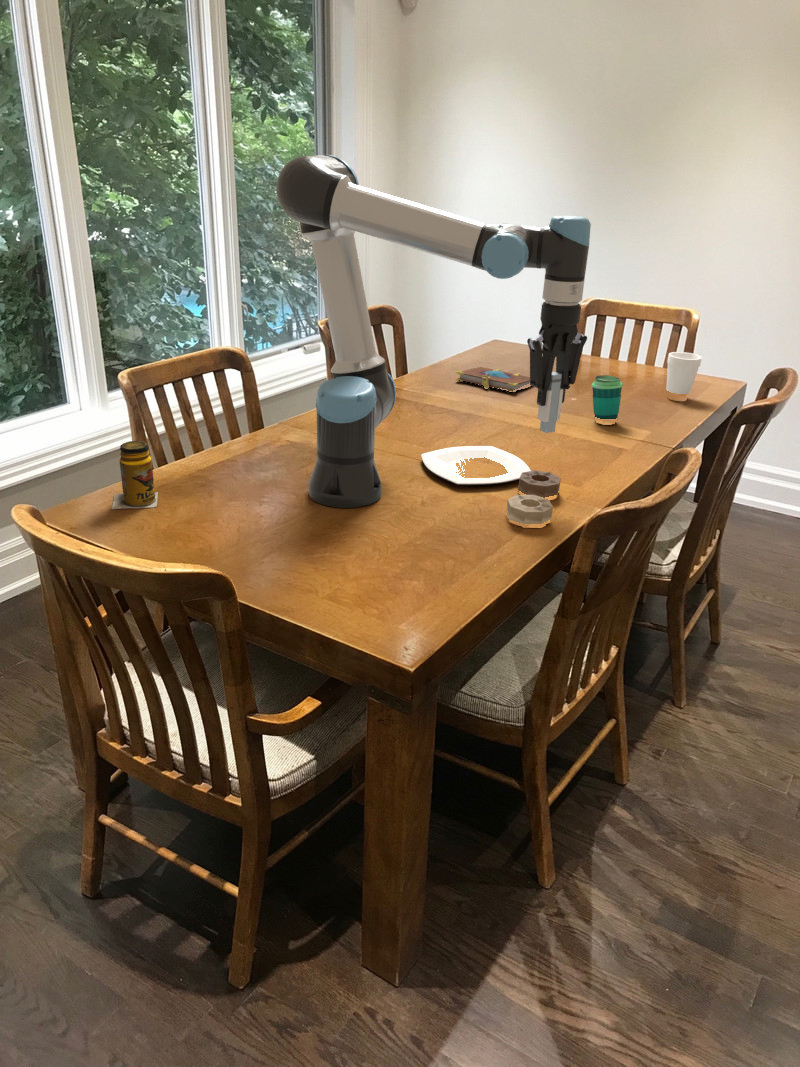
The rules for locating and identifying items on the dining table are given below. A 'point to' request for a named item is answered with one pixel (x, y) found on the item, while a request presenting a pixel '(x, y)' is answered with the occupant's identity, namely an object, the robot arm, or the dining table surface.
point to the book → (493, 378)
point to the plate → (447, 458)
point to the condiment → (136, 477)
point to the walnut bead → (539, 483)
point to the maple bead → (529, 509)
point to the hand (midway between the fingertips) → (548, 419)
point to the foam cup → (682, 371)
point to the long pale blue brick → (552, 403)
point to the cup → (606, 396)
